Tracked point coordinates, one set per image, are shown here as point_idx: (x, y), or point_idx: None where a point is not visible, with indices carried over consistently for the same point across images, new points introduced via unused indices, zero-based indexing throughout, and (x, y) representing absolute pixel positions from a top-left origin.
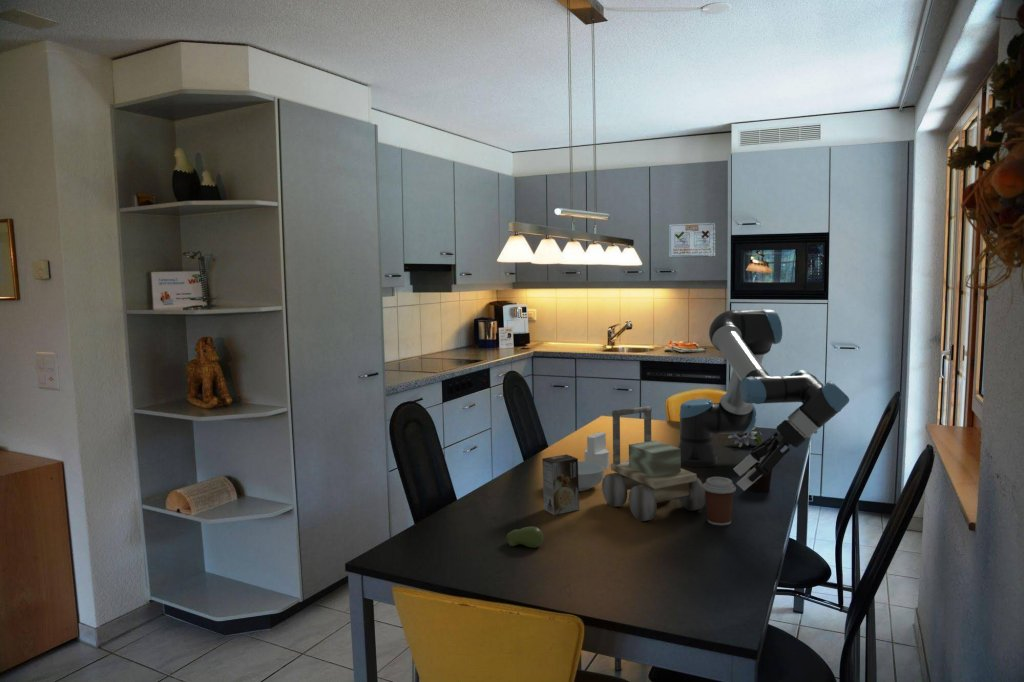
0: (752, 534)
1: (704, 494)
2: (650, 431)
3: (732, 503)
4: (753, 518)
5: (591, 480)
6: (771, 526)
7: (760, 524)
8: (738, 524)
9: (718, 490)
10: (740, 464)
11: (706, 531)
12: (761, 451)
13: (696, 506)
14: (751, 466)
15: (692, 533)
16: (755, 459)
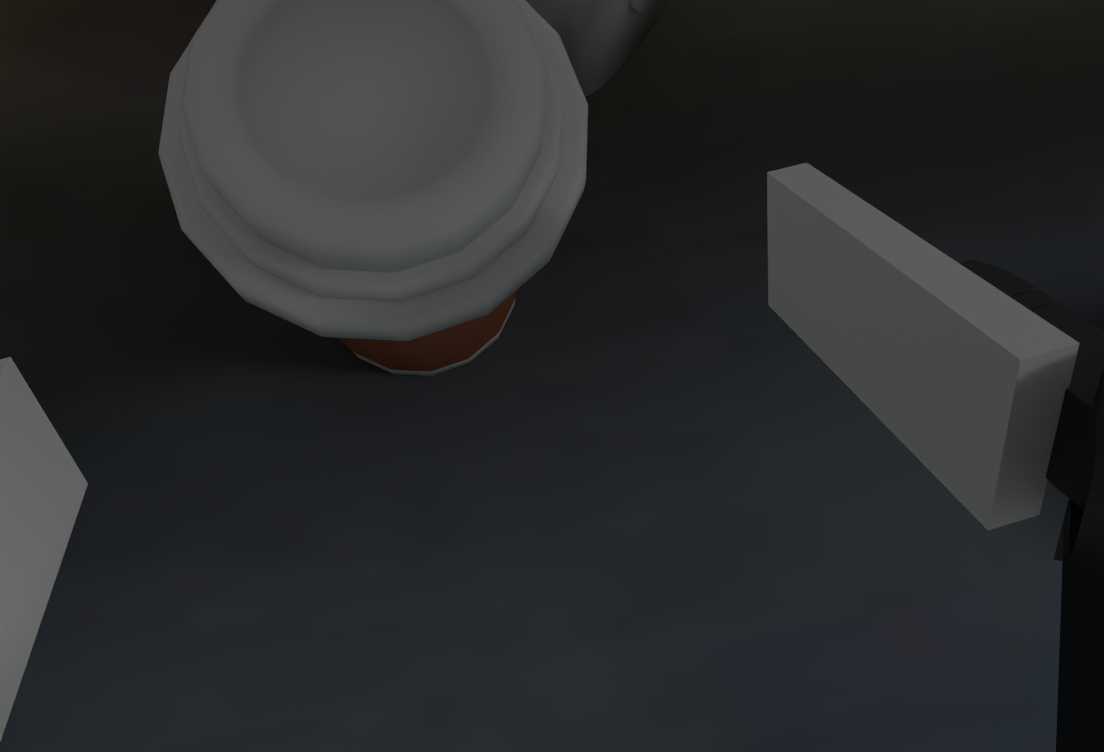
0: (214, 601)
1: (565, 38)
2: None
3: (417, 344)
4: (626, 531)
5: None
6: (489, 721)
7: (499, 618)
8: (416, 442)
9: (163, 154)
10: (841, 241)
11: (139, 239)
12: (1088, 675)
13: None
14: None
15: (52, 151)
16: (1039, 485)
